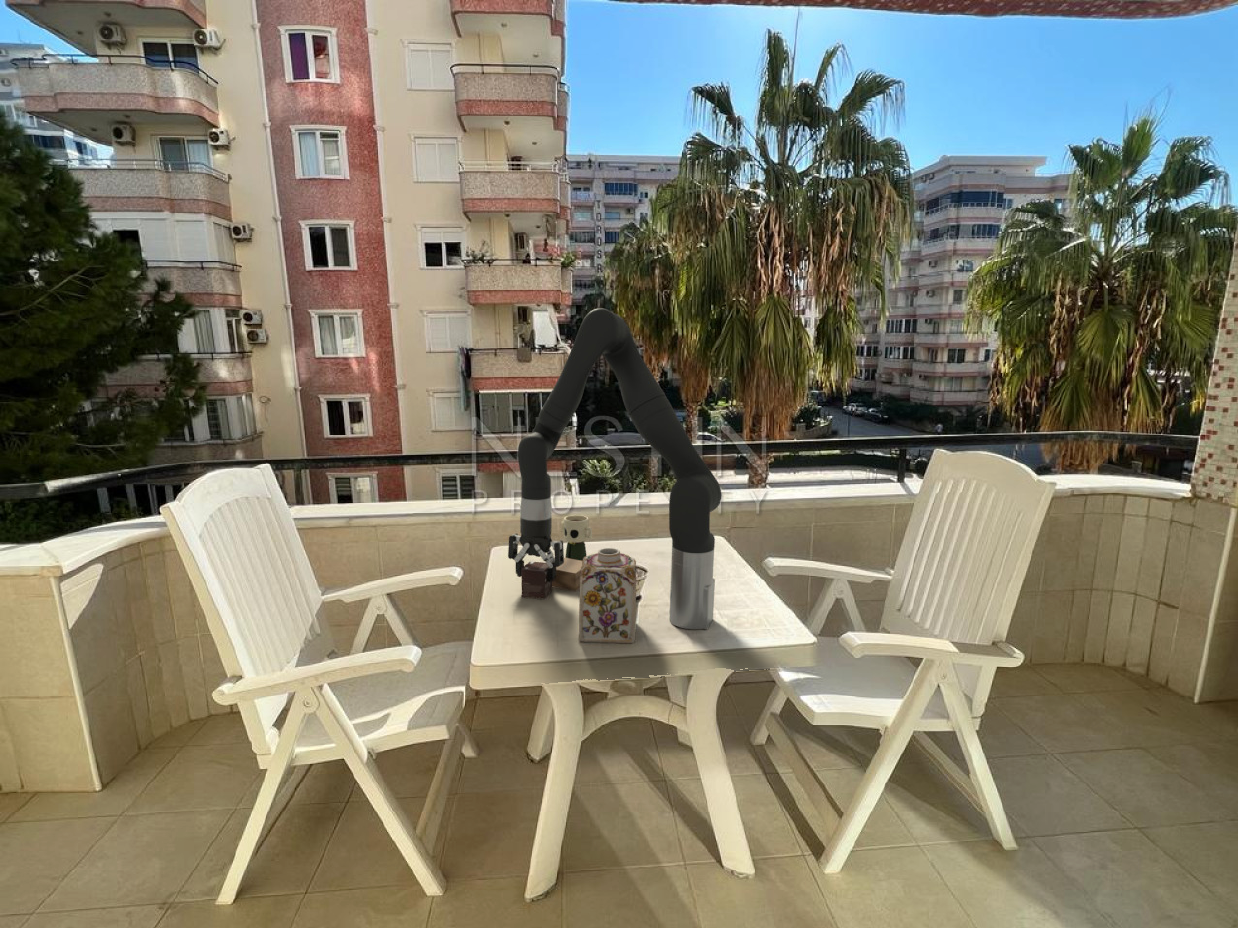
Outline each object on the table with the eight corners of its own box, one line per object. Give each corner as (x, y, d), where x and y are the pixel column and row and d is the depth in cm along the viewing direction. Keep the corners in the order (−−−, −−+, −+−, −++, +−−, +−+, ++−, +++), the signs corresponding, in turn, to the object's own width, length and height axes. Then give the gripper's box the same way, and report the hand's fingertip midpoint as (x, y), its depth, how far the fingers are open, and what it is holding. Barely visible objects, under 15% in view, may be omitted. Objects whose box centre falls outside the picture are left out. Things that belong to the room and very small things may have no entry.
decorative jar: (635, 644, 121) (637, 560, 118) (578, 643, 121) (578, 559, 118) (634, 619, 133) (636, 542, 130) (582, 618, 133) (583, 541, 130)
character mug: (553, 561, 170) (553, 517, 168) (569, 555, 176) (569, 512, 174) (583, 569, 164) (583, 524, 162) (598, 562, 170) (599, 518, 168)
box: (544, 600, 143) (544, 571, 142) (520, 597, 144) (520, 568, 143) (552, 590, 149) (552, 562, 148) (529, 588, 150) (529, 560, 149)
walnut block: (591, 580, 157) (592, 562, 156) (575, 592, 149) (575, 573, 148) (562, 574, 160) (562, 557, 160) (544, 586, 152) (544, 567, 151)
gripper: (569, 514, 144) (568, 578, 147) (518, 507, 149) (518, 569, 152) (555, 522, 138) (554, 588, 140) (502, 514, 143) (502, 578, 145)
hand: (535, 578), depth 146 cm, fingers open, 8 cm apart
